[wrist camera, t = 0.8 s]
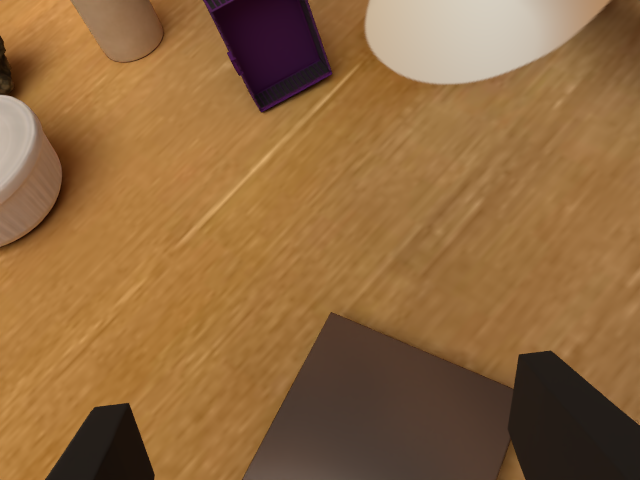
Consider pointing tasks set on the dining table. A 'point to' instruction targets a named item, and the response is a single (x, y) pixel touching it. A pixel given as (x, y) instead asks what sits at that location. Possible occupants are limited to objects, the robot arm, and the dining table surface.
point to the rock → (5, 72)
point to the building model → (271, 46)
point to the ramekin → (24, 171)
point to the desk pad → (384, 415)
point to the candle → (122, 26)
